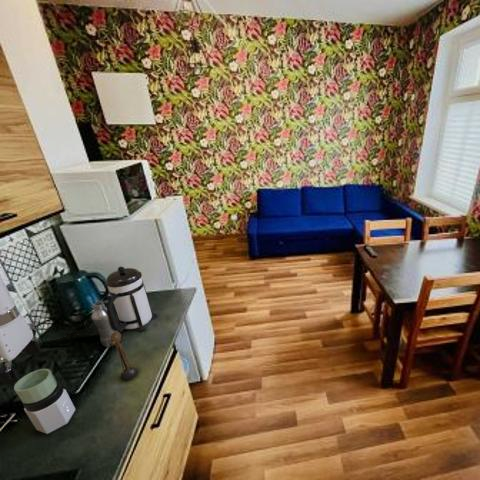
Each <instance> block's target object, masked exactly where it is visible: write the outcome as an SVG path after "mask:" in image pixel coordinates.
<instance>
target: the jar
mask: <svg viewBox="0 0 480 480" xmlns="http://www.w3.org/2000/svg"><path fill="white" fill-rule="evenodd" d="M56 382H57V386H56V388H55V389H54V391H53V392H52V393H51V394H50V395H49V396H47V397H46V398H44V399H42V400H40V401H38V402H35V403H28V404H27V403H23V402H22V401H21V404H22V405H23V410H24V412H25V413H26V415H27V417H28V419H29V420H30V422H31V423H32V425H33V427H34V428H35V430H36V431H38V432H41V433H43V434H46V435H48V434H51V433H52V432H54V431H56V430H58V429H60V428H62V427H64V426H65V425H67V424H68V423H69V422H70V420H71V418H72V417H73V415H74V413H75V412H76V407H75V405H74V403H73V401H72V399H71V398H70V395H69V393H68V392H67V389H65V388H63V385H62V384H61V382H60V381H58V380H56Z"/></svg>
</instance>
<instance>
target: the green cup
mask: <svg viewBox="0 0 480 480" xmlns="http://www.w3.org/2000/svg"><path fill="white" fill-rule="evenodd" d="M56 381H57V380H56V378H55V376H54V374H53V372H52V371H51V369H50V368H40V369H37V370H34V371H31V372H29V373H27V374H25V375H24V376H23V377H21V378H20V379H19V380H18V381H16V382H15V384H14V386H13V390H14V392H15V394H16V395H17V396H18V397H17V398H19V400H20V401H21V403H22V402H23V403H27V404H28V403H35V402H38V401H40V400H42V399H44V398H46V397H47V396H49V395H50V394H51V393H52V392H53V391H54V389H55V388H56V386H57V382H56ZM23 403H22V404H23Z"/></svg>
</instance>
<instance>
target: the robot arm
mask: <svg viewBox="0 0 480 480" xmlns="http://www.w3.org/2000/svg"><path fill="white" fill-rule="evenodd" d="M23 350H24V352H25V355H26V356H33V355H39V354H41V353H42V349H41V346H40V345H39V342H38V337H37V330H36V323H35V322H28V321H27V319H26V318H25V317H24V316H23V314H22V313H21V312H20V311H19V309H18V307H17V304H16V303H15V301H14V299H13V297H12V296H11V292H10V291H9V289H8V287H7V285H6V283H5V281H4V279H3V277H2V275H1V274H0V366H2V365H1V364H2V363H5V364H4V367H0V382H1V383H2V384H9V383H14V382H15V383H16V382H18V381H19V380H20V379H21V378H20V376H19V375H18V373H17V371H16V369H15V368H14V367H12V362H13V360H15V358H17V356H18V355H19V354H20V353H21V352H22V351H23ZM1 358H2V359H1Z"/></svg>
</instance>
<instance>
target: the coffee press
mask: <svg viewBox="0 0 480 480" xmlns="http://www.w3.org/2000/svg"><path fill="white" fill-rule="evenodd" d="M142 276H143V274H142V272H141V271H139V270H138V269H137V268H134V267H124V266H119V267H118V268H117V269H116V270H114V271H113V272H111V273H110V274H108V275H107V276H106V279H105V282H104V284H105V286H106V287H107V291H108V293H109V296H110V297H109V299H108V300H107V303H106V307H107V312H108V315H109V318H110V321H111V324H112V326H113V328H114V329H115V330H117V331H118V332H119V333H122V332H123V331H124V330H133V329H138V328H139V331H140V332H141V333H142V332H145V327H144V326H145V325H146V324H148V323H149V322H150V321H151V319H155V318H156V317H157V314H156V313H154V312H153V310H152V308H151V304H150V300H149V297H148V293H147V289H146V286H145V283H144V280H143V278H142ZM113 308H114V309H113ZM115 313H116V314H115ZM153 315H154V316H153ZM116 316H117V317H116ZM118 322H119V323H118Z"/></svg>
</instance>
